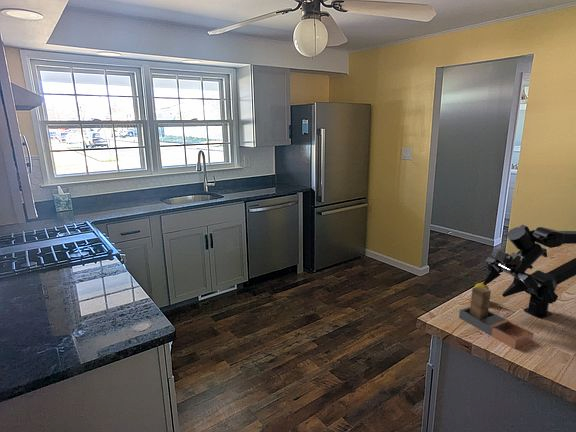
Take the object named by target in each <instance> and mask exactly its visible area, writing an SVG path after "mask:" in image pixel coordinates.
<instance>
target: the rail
mask: <svg viewBox="0 0 576 432" xmlns="http://www.w3.org/2000/svg"><path fill="white" fill-rule="evenodd" d="M458 317H459V319H461V320H463V321H464V322H466V323H468V324H470V326H471V325H472V326H473V327H474V328H477V329H479V330H480V331H482V332H483V333H486V334H487V335H489V336H491V337H493V338H495V339H496V340H498V341H500V342H502V343H503V344H505V345H506V346H508V347H511V348H512V349H514V350H515V349H518V348H520V347H523V346H525V345H528V344H530V343H532V342H533V340H534V335H535V334H534V332H532V331H529V330H528V329H526V328H524V327H521V326H520V325H519V324H517V323H514V322H512V321H510V319H506V318H504V317H502V316H500V315H498V314H496V313H495V312H492V311H490V310H488V317H487V318H485V319H482V320H480V319H478V318H476V317H474V316H472V315H471V314H470V306H467V307H465V308H462V309H459V315H458ZM505 331H509V332H511V333H512V334H514V335H516V336H518V337H513V336H511V335H509V334H508V333H506V332H505Z"/></svg>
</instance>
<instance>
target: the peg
mask: <svg viewBox="0 0 576 432" xmlns="http://www.w3.org/2000/svg"><path fill="white" fill-rule="evenodd" d="M474 287H475V286H474ZM474 287H472V289H471V291H472V292H471V299H470V306H469V307H470V314H471V315H472V316H474V317H476V318H478V319H480V320H482V319H485V318H487V317H488V311H489V308H490V300H491V294H492V293H491V292H492V290H491V289H490V288H489V289H486V288H484V287H482V286H479V287H475V288H474Z"/></svg>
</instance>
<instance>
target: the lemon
mask: <svg viewBox="0 0 576 432" xmlns="http://www.w3.org/2000/svg"><path fill="white" fill-rule="evenodd" d="M483 282H484V281H483ZM483 282H479V283H476V284H475V285H474V287H473V288H475V287H479V286H482V287H484V288H486V289H489V290H490V288H489V286H488V284H487V285H484V284H483Z"/></svg>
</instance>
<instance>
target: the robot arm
mask: <svg viewBox="0 0 576 432" xmlns="http://www.w3.org/2000/svg"><path fill="white" fill-rule="evenodd" d="M529 228H530V227H528V226H527V225H525V224H521V225H520V226H517V227H514V228H512V229H509V231H508V232H507V233H506V237H507V238H508V240H509V241H510V242H511V243H512V244H513V246H514V247H515V248H516V249H517V250H518V251H517V252H512V253H510V254H509V253H506V252H505V251H502V250H501V249H500V250H498V251H497V253H496V255H495V257H494V256H492V255H491V256H488V257H487V259H485V262H486V265H487V273H486V274H485V277H484V280H483V284H484V285H487V286H488V284H490V283H491V282H493V281H494V280H496V279H497V278H498V277H500V276H501V273H506V274H507V275H509V276H511V277H513V280H512V283H511V284H510V285H508V287H507V288H506V289H505V290H504V291H503V293H502V294H501V295H502V297H503V298H505V297H509V296H511V295H512V296H513V295H515V294H518V293H523V292H525V293H526V294H528V295H530V297H529V301H528V302H529V303H528V307H526V308H523V312H526V313H528V314H530V315H532V316H535V317H537V318H539V319H543V318H547V317H548V316H551V315H553V313H552V312H551V311H549V305H550V304H554V303H556V302H557V300H558V298H559V296H558V295H557V293H556V290H557V287H558V285H559V284H562V283H563V282H566V281H567V280H569V279H571V278H573V277H575V276H576V257H574V258H573V259H570V260H569V261H567V262H565V263H563V264H561V265H560V266H557V267H555V268H553V269H552V270H549V271H547V272H544V271H542V270H538V269H537V270H535V271H534V272H532V273H531V274H530V273H527V272H526V271H527V270H528V269H529V270H532V269H533V268H534V266H533V264H534V263H535V262H536V261H538V259H540V257H544V258H547V257H548V251H547V248H549V249H554V248H558V247H561V246H563V245H569V244H572V245H573V244H576V230H557V229H552V228H549V227H548V228H547V227H542V226H539V227H536V229H532V230H530V229H529ZM541 245H542V246H544V247H547V248H544V247H542V246H541Z"/></svg>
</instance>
